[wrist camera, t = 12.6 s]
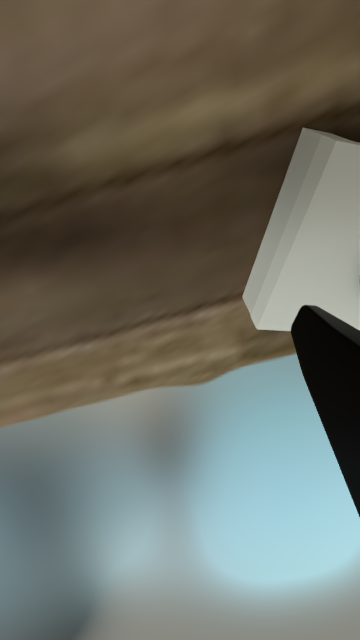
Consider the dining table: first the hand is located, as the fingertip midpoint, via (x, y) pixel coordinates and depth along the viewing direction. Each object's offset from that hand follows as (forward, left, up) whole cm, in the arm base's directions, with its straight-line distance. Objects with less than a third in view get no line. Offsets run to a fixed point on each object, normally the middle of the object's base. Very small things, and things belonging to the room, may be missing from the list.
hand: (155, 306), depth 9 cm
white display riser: (+15, -2, -13) cm, 20 cm away
